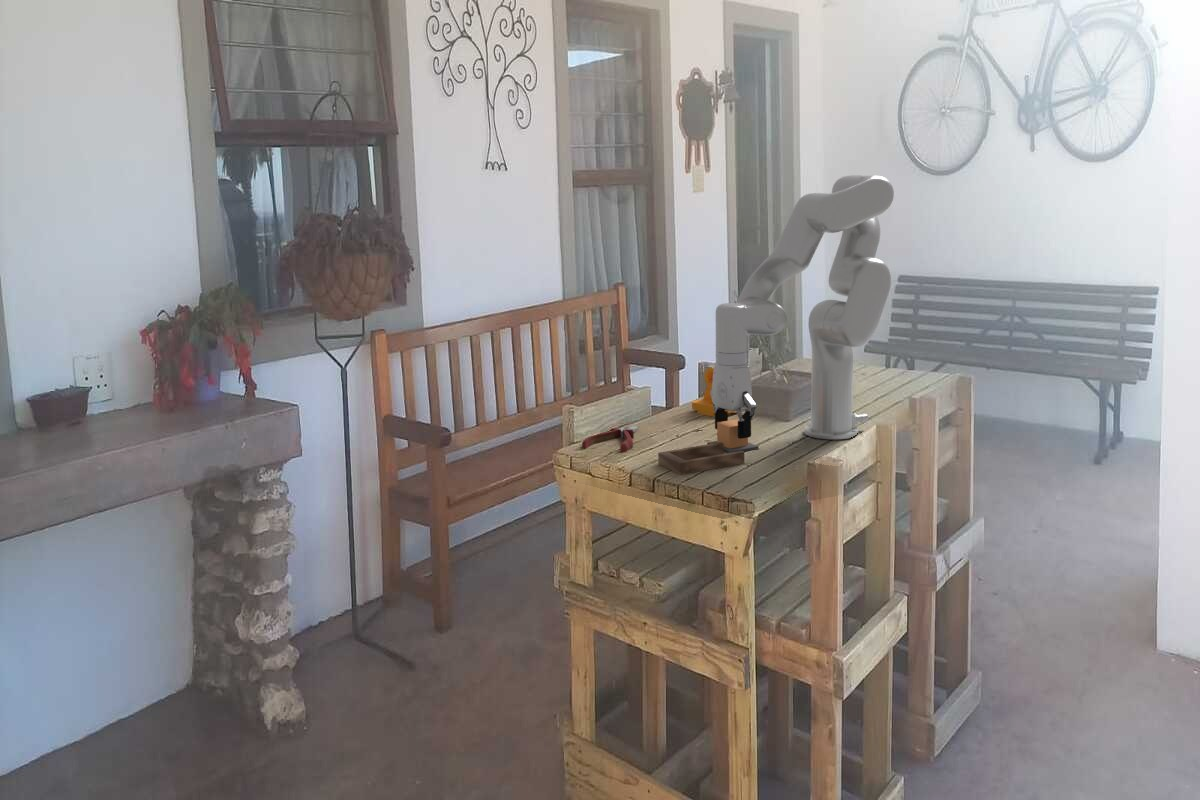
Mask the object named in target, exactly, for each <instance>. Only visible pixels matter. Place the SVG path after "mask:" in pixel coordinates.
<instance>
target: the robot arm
mask: <svg viewBox="0 0 1200 800" xmlns="http://www.w3.org/2000/svg"><path fill="white" fill-rule="evenodd" d="M894 197H895V191H894V187H893V185H892V183H891V181H889V180H888V179H887V178H886V177H884V176H881V175H873V174H872V175H871V174H870V175H869V174H868V175H861V174H857V175H856V174H851V175H844V176H842V177H840V178H838V179H837V180H836V181H835V182H834V184H833V186H832V189H831V193H825V192H824V193H822V192H813V193H807V194H805V195H803V196H801V197H800V198H799V199H798V200H797V202H796V203H795V205H794V208H793V209H792V212H791V213H790V216H789V218H788V220H787V222H786V224H785V226H784V228H783V230H782V232H781V235H780V237H779V239H778V241H777V243H776V244H775V247H774V249H773V250H772V252H771V253H770V254H769V255H768V256H767V257H766V258H765V259H764V260H763V261H762V263H760V265H759V266H758V267H757V268H756V269H755V270H754V271H753V272H752V273H751V275H750V276H749V277H748V279H747V281H746V283H744V286H743V288H742V290H741V292H740V294H739V296H738V298H737V301H736V302H726V303H725V302H724V303H721V304H719V305H717V307H716V309H715V363H714V366H713V367H714V371H713V381H712V390H711V391H710V394H711V397H712V403H713V406H714V409H713V410H714V412H715V416H714V429H715V430H717V422H723V421H729V413H728V411H725V410H729V411H732V412H731V413H735V412H736V414H737V417H738V419H739V420H738V438H740V439H742V438H748V439H749V438H750V437H751V436H752V421H753V418H754V416H755V411H756V409H757V404H756V402H755V401H754V400H753V398H752V397H753V392H752V379H751V370H750V355H751V354H750V336H751V335H752V336H775V335H777V334H778V333H781V331H782V330H784V328H785V326H786V325H787V322H788V321H787V320H788V316H787V312H786V310H785V309H784V307H782V305H780V304H778V303H776V302H773V301H770V300H771V298H772V296H773V295H774V293H775V292H776V290H777V289H778V288H780V286H781V285H782V284H783V283H784V282H785V281H787V280H789V279H791V278H792V277H795V276H796V275H799V274H801V273H802V272H804V271H805V270H806V269H807V268H808V267H809V265H810V263H811V262H812V259H813V257H814V255H815V253H816V250H818V249H817V248H818V247H819V245H820V243H821V240H822V238H823V237H824V234H825V233H830V234H834V233H840V232H842V233H841V238H840V241H839V244H838V247H837V250H836V252H835V256H834V259H833V262H832V265H831V268H830V272H829V275H828V285H829V288H830V289H831V291H833V292H834V293H835V294H837V295H840V296H844V297H847V298H846V300H845V301H842V300H837V299H825V300H822V301H820V302H818V303H817V304H816V305H814V306H813V307H812V309H811V311H810V313H809V316H808V324H807V325H808V332H809V339H810V345H811V381H810V382H811V384H810V385H811V389H810V392H811V393H810V395H811V396H810V424H807V425H805V426H804V427H803V433H804V435H806V436H808V437H811V438H814V439H815V438H816V439H821V440H836V441H837V440H847V439H851V437H852V438H854V437H853V436H854V435H856V434H857V433H858V434H859V428H858V427H857V426H856V425H857V424H858V423H866V422H868V421H869V415H868V414H867V413H861V414H857V413H853V403H854V402H853V401H854V400H853V399H854V397H853V395H854V394H853V391H854V390H853V389H854V364H855V363H854V361H855V360H854V352H853V348H859V347H863V346H864V345H866V344H868V342H870V340H871V339H872V338H873V336H875V333H876V331H877V328H878V325H879V322H880V320H881V317H882V314H883V312H884V308H885V305H886V302H887V300H888V296H889V293H890V292H891V291H890V289H891V285H892V276H891V271H890V269H889V267H888V265H887V264H886V263H885V262H884V261H882V260H881V259H879V258H875V257H876V254H877V250H878V247H879V243H880V239H881V225H880V221H879V218H878V216H880V215H882V214H884V212H886V211H887V210H888V209H890V207H891V205H892V203H893V201H894ZM734 411H735V412H734ZM743 412H744V413H743Z"/></svg>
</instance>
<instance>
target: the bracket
mask: <svg viewBox="0 0 1200 800" xmlns="http://www.w3.org/2000/svg"><path fill="white" fill-rule="evenodd" d="M713 371H714V366H712V367H709V368H707V369H706V370H705V372H704V382H705V384H706V387H705V390H704V391H705V392H704V395H703V398H700V399H696V400H692V401H691V409H692V410H695V411H697V414H700V415H705V416H709V417H715V412H714V410H713V409H714V406H713V403H712V397H711V394H710V391H711V390H712V381H713ZM725 411H728V414H731V413H735V412H736V411H734V412H732V411H729V410H725Z"/></svg>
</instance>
